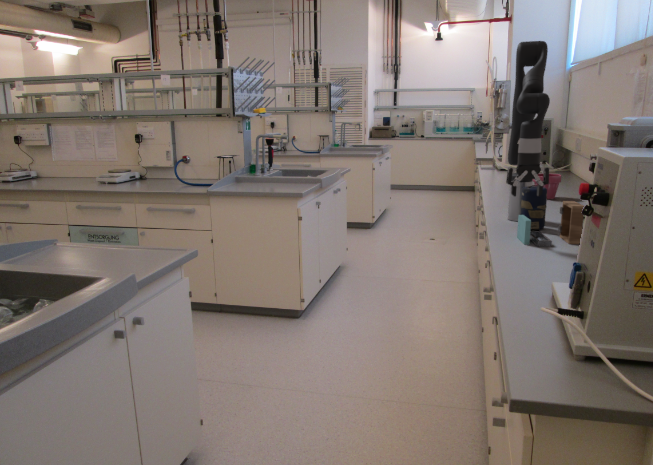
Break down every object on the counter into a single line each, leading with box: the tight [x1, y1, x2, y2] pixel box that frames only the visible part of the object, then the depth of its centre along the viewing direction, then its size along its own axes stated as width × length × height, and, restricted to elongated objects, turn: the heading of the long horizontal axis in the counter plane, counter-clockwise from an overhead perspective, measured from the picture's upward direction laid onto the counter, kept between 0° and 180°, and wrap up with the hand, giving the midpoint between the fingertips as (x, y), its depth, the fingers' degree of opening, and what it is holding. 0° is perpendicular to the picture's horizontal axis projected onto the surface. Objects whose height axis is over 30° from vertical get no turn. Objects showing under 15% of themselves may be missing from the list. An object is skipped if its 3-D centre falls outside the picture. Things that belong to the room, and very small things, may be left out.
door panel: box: [516, 215, 532, 246], centre depth 182 cm, size 10×2×9 cm, turn 173°
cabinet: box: [557, 200, 585, 245], centre depth 181 cm, size 10×5×14 cm, turn 173°
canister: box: [521, 184, 548, 231], centre depth 200 cm, size 10×10×18 cm
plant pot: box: [532, 173, 562, 200], centre depth 267 cm, size 14×14×13 cm
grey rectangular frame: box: [530, 230, 553, 247], centre depth 182 cm, size 15×5×2 cm, turn 173°
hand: (526, 196), depth 179 cm, fingers open, 8 cm apart
